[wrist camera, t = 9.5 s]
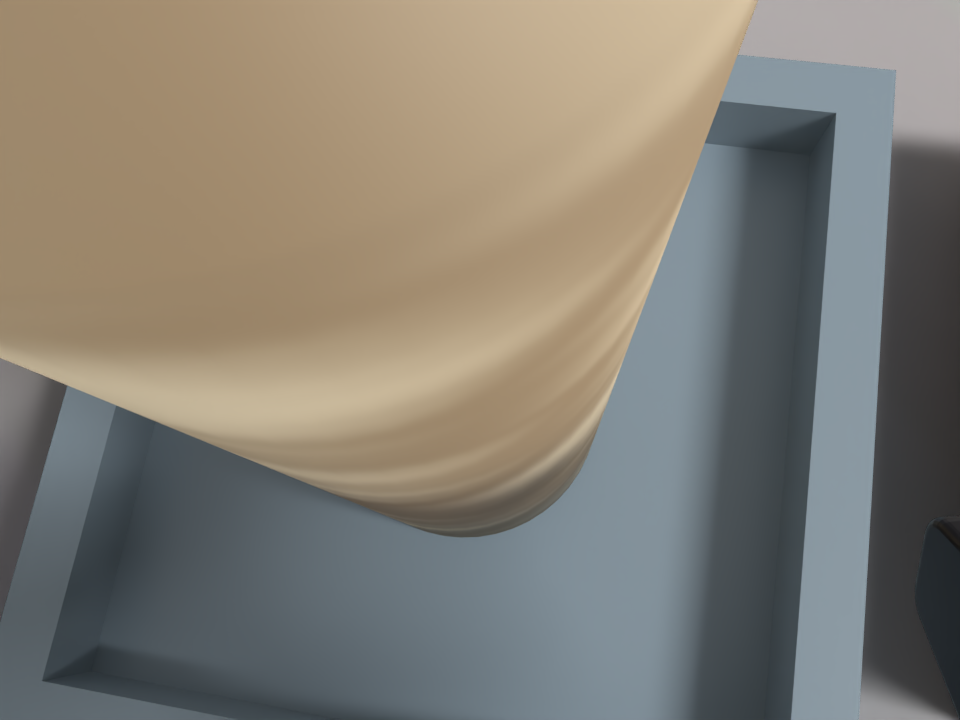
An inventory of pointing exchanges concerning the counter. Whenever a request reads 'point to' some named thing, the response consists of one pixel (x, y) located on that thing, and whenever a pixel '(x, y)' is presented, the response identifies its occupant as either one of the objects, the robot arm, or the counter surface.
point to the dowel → (353, 225)
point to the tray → (552, 534)
